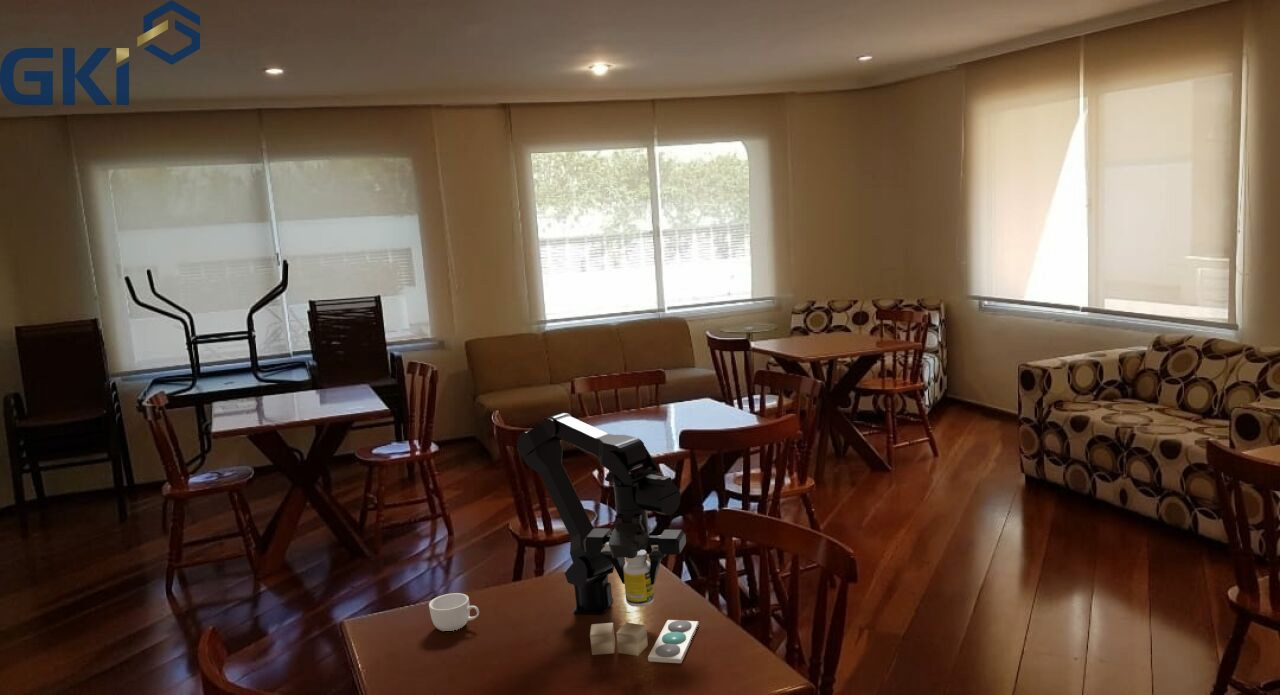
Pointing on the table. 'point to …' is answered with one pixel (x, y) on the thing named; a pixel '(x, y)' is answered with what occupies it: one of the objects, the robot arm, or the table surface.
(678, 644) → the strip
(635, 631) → the beech block
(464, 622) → the teacup
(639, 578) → the supplement bottle
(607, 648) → the beech block
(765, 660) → the table surface
